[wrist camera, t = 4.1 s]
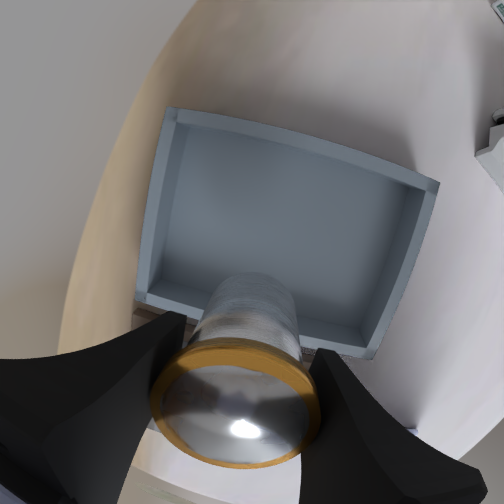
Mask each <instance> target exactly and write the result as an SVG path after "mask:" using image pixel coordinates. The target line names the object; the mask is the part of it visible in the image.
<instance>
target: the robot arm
mask: <svg viewBox="0 0 504 504" xmlns="http://www.w3.org/2000/svg"><path fill="white" fill-rule="evenodd" d="M186 319H187V315H184V314H181V313H177V312H174V311H171V310H170V311H168V312H166V313H164V314H163V315H161V316H159V317H157V318H155V319H153V320H152V321H150V322H148V323H146V324H144V325H142V326H140V327H138V328H136V329H134V330H132V331H130V332H128V333H126V334H124V335H121V336H119V337H117V338H114V339H112V340H110V341H107V342H105V343H102V344H99V345H96V346H93V347H90V348H86V349H83V350H79V351H75V352H70V353H65V354H60V355H55V356H50V357H42V358H31V359H0V504H117V501H118V498H119V495H120V492H121V490H122V487H123V484H124V481H125V478H126V476H127V473H128V470H129V467H130V465H131V462H132V460H133V457H134V455H135V452H136V450H137V447H138V445H139V442H140V440H141V438H142V436H143V434H144V432H145V430H146V428H147V426H148V424H149V422H150V421H151V419H152V414H151V410H150V394H151V390H152V388H153V385H154V383H155V382H156V380H157V378H158V376H159V374H160V373H161V371H162V369H163V367H164V366H165V364H166V363H167V361H168V360H169V359H170V358H171V357H172V356H173V355H174V354H175V353H177V352H178V351H179V350H181V349H182V346H183V339H184V332H185V326H186ZM308 372H309V373H310V375H311V377H312V379H313V380H314V382H315V385H316V388H317V393H318V399H319V405H320V412H321V423H320V427H319V431H318V433H317V435H316V437H315V439H314V440H313V441H312V443H311V444H310V445H309V446H308V447H307V448H306V449H305V450H304V451H302V452H301V486H300V498H299V504H479V503H481V501H482V500H483V499H484V498H485V496H486V494H487V492H488V490H487V487H486V485H485V482H484V480H483V477H482V475H481V473H480V471H479V470H478V469H476V468H474V467H471V466H469V465H466V464H464V463H462V462H459V461H457V460H455V459H453V458H451V457H449V456H447V455H445V454H443V453H441V452H440V451H438V450H436V449H434V448H433V447H431V446H430V445H428V444H426V443H425V442H424V441H422V440H421V439H419V438H418V437H417V436H416V435H417V434H418V430H417V429H406V428H405V427H403V426H402V425H401V424H400V423H399V422H398V421H397V420H395V419H394V418H393V417H392V416H391V415H390V414H389V413H388V412H387V411H386V410H385V409H384V408H383V407H382V406H381V405H380V404H379V403H378V402H377V401H376V400H375V399H374V398H373V397H372V395H371V394H370V393H369V392H368V391H367V390H366V389H365V387H364V386H363V385H362V384H361V383H360V381H359V380H358V379H357V378H356V376H355V375H354V374H353V373H352V371H351V370H350V369H349V367H348V366H347V365H346V364H345V362H344V361H343V360H342V359H341V357H340V356H339V355H338V354H337V353H336V352H335V351H334V350H329V349H324V348H318V349H317V352H316V354H315V357H314V359H313V361H312V364H311V366H310V368H309V370H308Z"/></svg>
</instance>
